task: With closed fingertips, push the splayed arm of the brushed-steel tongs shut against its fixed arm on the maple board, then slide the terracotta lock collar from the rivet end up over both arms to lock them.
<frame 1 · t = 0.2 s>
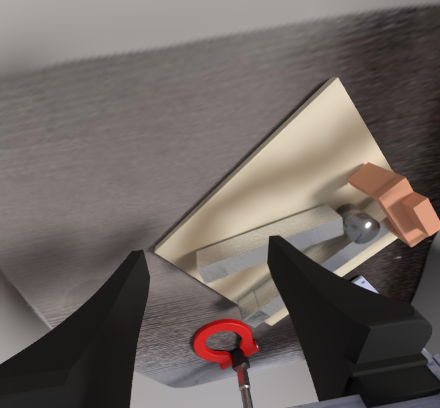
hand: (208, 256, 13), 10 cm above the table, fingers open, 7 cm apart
tong base: (344, 215, 24), resting on board
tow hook: (224, 337, 33), on the table
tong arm: (266, 243, 22), point 3 cm above the table, hinge at 25.0°
board: (291, 230, 25), on the table
lock collar: (395, 207, 21), point 4 cm above the table, slide at 0.0 cm
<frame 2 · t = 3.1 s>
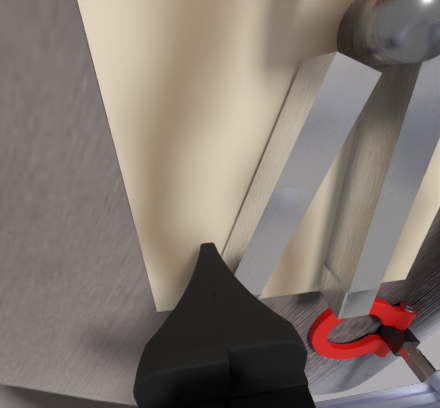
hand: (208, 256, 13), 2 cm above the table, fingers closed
tong base: (366, 32, 10), resting on board
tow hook: (352, 322, 23), on the table
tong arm: (270, 213, 12), point 3 cm above the table, hinge at 20.6°, touching gripper
board: (299, 147, 13), on the table
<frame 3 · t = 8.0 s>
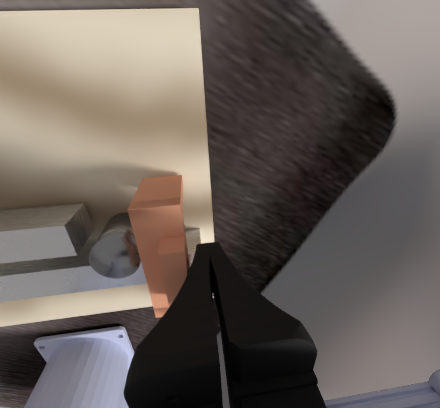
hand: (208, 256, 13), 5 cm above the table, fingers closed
tong base: (127, 229, 16), resting on board
board: (44, 205, 15), on the table
lock collar: (168, 251, 13), point 4 cm above the table, slide at 0.3 cm, touching gripper
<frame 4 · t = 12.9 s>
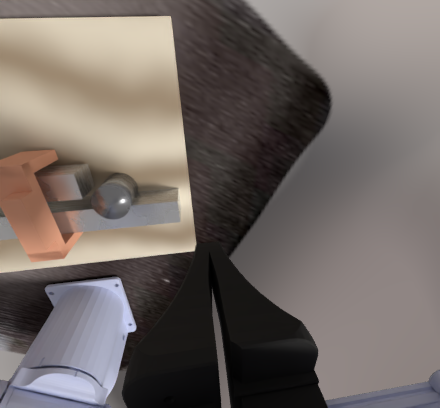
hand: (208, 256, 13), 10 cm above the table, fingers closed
tong base: (121, 187, 20), resting on board
board: (56, 167, 20), on the table
lock collar: (38, 209, 17), point 4 cm above the table, slide at 8.6 cm
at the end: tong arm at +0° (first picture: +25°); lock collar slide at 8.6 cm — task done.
